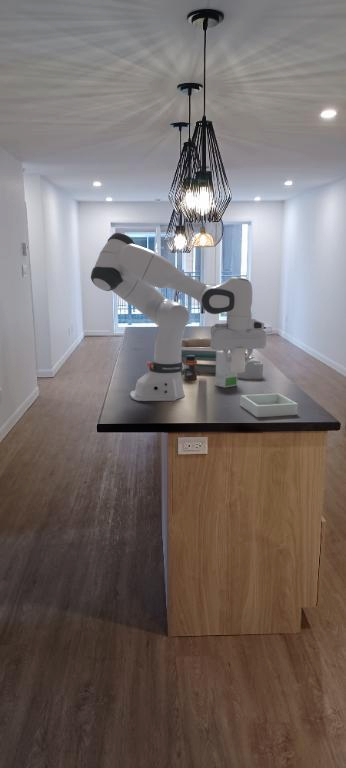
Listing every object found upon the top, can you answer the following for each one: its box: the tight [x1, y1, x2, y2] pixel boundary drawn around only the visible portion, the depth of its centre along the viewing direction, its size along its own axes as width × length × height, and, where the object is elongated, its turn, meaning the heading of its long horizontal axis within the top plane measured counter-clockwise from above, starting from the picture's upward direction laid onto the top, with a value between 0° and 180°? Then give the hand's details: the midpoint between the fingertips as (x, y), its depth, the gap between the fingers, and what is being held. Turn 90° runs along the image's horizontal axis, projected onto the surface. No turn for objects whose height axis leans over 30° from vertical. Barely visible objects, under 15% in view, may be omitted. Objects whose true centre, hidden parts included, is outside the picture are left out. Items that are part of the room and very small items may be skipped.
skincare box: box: [214, 350, 238, 388], centre depth 237 cm, size 8×7×16 cm
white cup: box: [229, 347, 247, 373], centre depth 192 cm, size 6×6×9 cm
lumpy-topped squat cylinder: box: [237, 357, 264, 380], centre depth 256 cm, size 10×13×9 cm
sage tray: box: [239, 392, 299, 418], centre depth 200 cm, size 16×16×4 cm
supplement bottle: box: [183, 355, 198, 381], centre depth 249 cm, size 6×6×11 cm
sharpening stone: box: [181, 346, 223, 374], centre depth 268 cm, size 25×8×11 cm, turn 80°
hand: (237, 361), depth 192 cm, fingers closed on white cup, 6 cm apart
